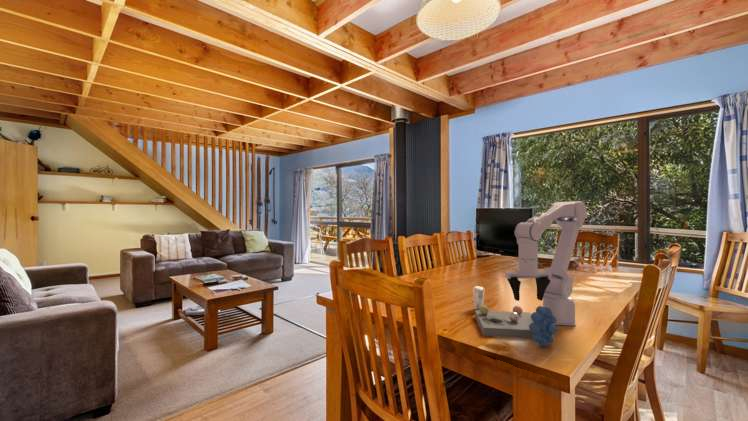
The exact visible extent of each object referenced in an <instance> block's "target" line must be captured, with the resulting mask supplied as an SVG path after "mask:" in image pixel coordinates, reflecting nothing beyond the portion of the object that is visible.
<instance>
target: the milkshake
mask: <svg viewBox="0 0 748 421" xmlns="http://www.w3.org/2000/svg"><path fill="white" fill-rule="evenodd" d="M485 287H486V286H485V285H484V286H481V285H480V286H479V285H475V286H474V287H472V295H473V304H474V305H473V307H474V311H475V310H479V309H480V307H481V306H482V305H485V304H484V303H485V302H484V301H485V292H486V291H485Z"/></svg>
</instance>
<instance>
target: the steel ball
mask: <svg viewBox="0 0 748 421" xmlns="http://www.w3.org/2000/svg"><path fill="white" fill-rule="evenodd" d="M510 312H511V313H510V314H509V318H510V320H511V321H512V322H517V321H519V318H520V317H519V315H518V313H516V312H513V311H510Z"/></svg>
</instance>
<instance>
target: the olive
mask: <svg viewBox="0 0 748 421" xmlns="http://www.w3.org/2000/svg"><path fill="white" fill-rule="evenodd" d="M479 310H480V312H481V313H482V314H484V315H485V314H487V313H488V312H489V311H490V308H489V307H488V305H485V304H484V305H482V306H481V307H480V309H479Z"/></svg>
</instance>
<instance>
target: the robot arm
mask: <svg viewBox="0 0 748 421" xmlns="http://www.w3.org/2000/svg"><path fill="white" fill-rule="evenodd" d="M585 204H586V203H584V202H583V201H582V200H578V201H554V202H553V203H551V205H550V208H549V209H548V210H546V211H545V212H536V213H535V215H534V216H533V217H531V218H528V219H527V220H526V221H525V222H524V221H523V222H519V223H518V224H516V226H515V229H514V231H513V232H514V237H515V238H516V244H517V245H518V270H514V271H513V270H512V271H510V270H509V271H505V272H504V273H505V274H504V278H506V279H507V282H508V283H509V285H510V288H511V291H512V293H513V298H514V300H515V301H517V302H519V301H520V294H521V293H520V289H521V283H522V281H521V280H519V279H535V285H536V299H537V300H538V301H541V302H542V307H544V308H545V307H548V308H550V309H551V311H552V313H553V314H552V315H553V316H554V317H555V318H556V320H557V322H556V323H555V324H554V325H556V326H573V327H574V326H575V327H576V326H577V324H576V304H575V301H574V299H573V298H572V297H570V296H571V295H572V293H573V283H574V279H573V276H571V275H570V273H568V269H569V265H570V261H571V258H572V255H573V253H574V248H575V246H576V241H577V238H578V234H579V231H580V228H582V227H583V226H584V223H585V219H586V215H587V207H586V205H585ZM554 221H555V223H556V225H557V226H559V227H561V232H560V236H559V239H558V241H557V245H556V248H555V252H554V255H553V259H552V261H551V264H550V266H549V267H548V268H545V269H544V270H539V262H538V261H539V257H538V256H539V255H538V254H539V252H538V251H539V250H538V249H539V247H538V246H539V245H538V244H539V243H538V241H539V240H540V239H541V237H542V235H543V233H544V232H545V231H546V230H548V229H549V228H550V227H551V226H552V222H554Z"/></svg>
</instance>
